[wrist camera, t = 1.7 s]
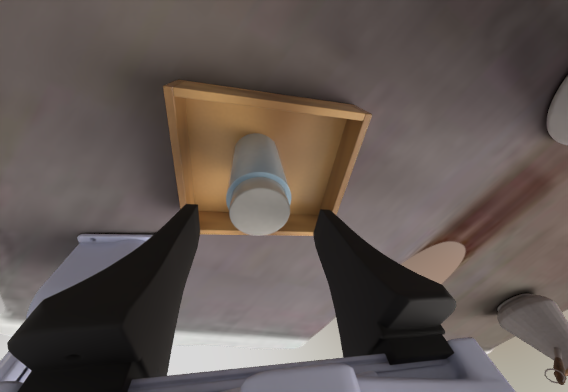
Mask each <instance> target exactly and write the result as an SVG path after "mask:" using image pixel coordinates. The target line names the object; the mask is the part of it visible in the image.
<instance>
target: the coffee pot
mask: <svg viewBox="0 0 568 392" xmlns="http://www.w3.org/2000/svg"><path fill="white" fill-rule="evenodd" d="M497 310H498V311H499V312H498V315H497V319H498V322H499V324H500V326H501V327H502V328H504V329H505V330H507V331H508V332H510V333H511V334H513V335H515V336H516V337H518V338H519V339H521V340H523V341H524V342H526V343H527V344H529V345H531V346H532V347H534V348H535V349H537V350H539V351H540V352H542V353H543V354H545V355H546V356H548V357H550V358H551V359H553V360H554V367H553V368H554V369H547V370H555V372H554V375H555V377H556V379H557V381H558V382H554V381H551V380H550V379H548V378H547V376H546V371H547V370H546V371H545V376H546V378H547V379H548V380H550V381H551V382H554V383H559V384H561V385H563V384H564V383H565V380H566V376H568V322H567V320H566V319H565V317H564V315H563V313H562V312H561V310H560V308H559V307H558V305H557V304H556V302H554V301H553V300H551V299H549V298H546V297H543V296H539V295H532V294H529V293H526V294H521V295H518V296H515V297H512V298H510V299H508V300H506V301H505V302H503V303H502V304H501V305H500V306H499V307H498V309H497Z"/></svg>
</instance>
